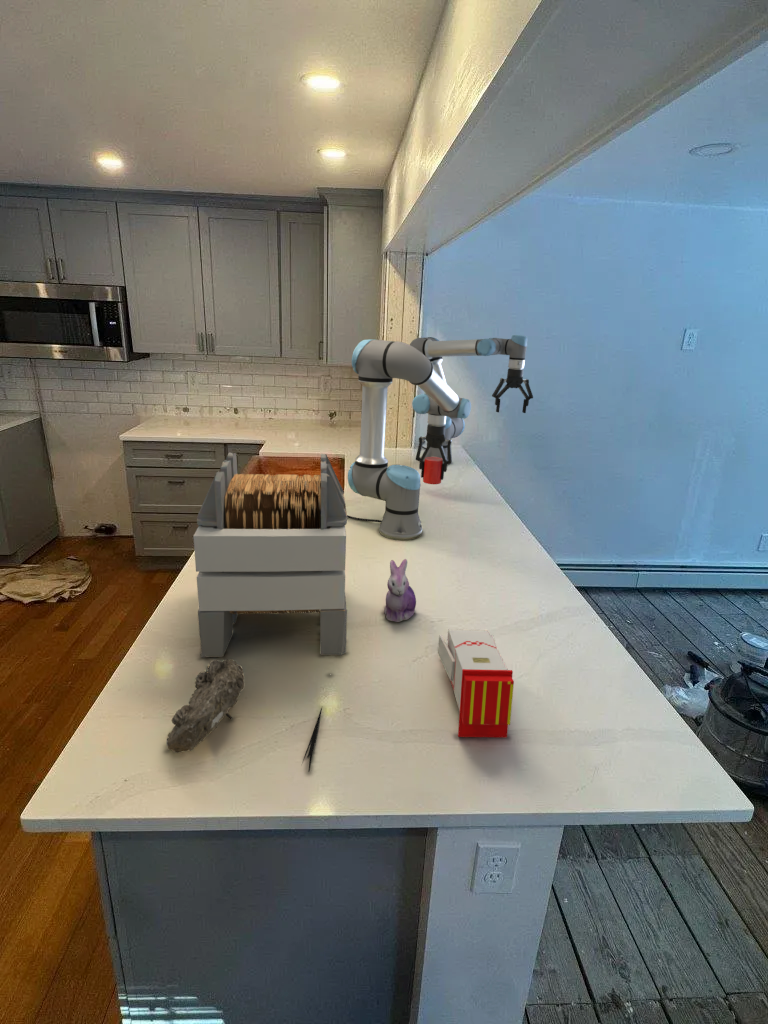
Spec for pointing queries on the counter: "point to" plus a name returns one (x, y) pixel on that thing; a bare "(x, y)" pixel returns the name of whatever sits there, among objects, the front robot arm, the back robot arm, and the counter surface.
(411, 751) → the counter surface
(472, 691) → the toy
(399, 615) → the figurine
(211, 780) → the counter surface
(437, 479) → the tin
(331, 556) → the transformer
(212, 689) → the fossil
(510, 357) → the back robot arm
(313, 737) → the feather
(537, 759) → the counter surface
